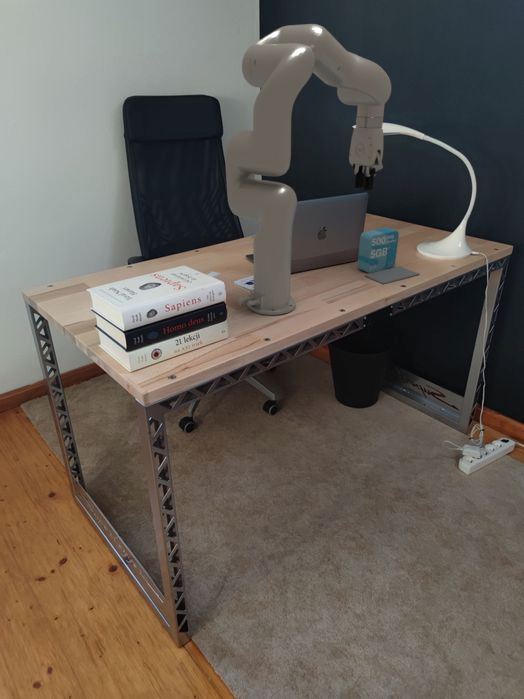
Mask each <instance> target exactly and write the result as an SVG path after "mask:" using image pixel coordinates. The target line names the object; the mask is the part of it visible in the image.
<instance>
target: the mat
mask: <svg viewBox="0 0 524 699" xmlns="http://www.w3.org/2000/svg"><path fill="white" fill-rule="evenodd" d="M416 276H420V273H419V272H416V271H414V270H410V269H408V268H405V267H402V266H395V267H392V268H389V269H384V270H380V271H376V272H372V273H368V274H365V275H364V277H365V278H367V279H370V280H372V281H374V282H377V283H379V284H381V285H383V286H384V285H387V284H392V283H393V282H397V281H403V280H406V279H408V278H409V279H410V278H413V277H416Z"/></svg>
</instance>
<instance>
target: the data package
mask: <svg viewBox="0 0 524 699" xmlns="http://www.w3.org/2000/svg"><path fill="white" fill-rule="evenodd" d="M399 235H400V233H399V231H398V230H395V229H392V228H390V227H383V228H382V227H381V228H377V229H376V228H375V229H372V230H366V231H363V232H362V233H361V234H360V236H359V246H358V257H357V268H358V270H361V271H363V272H366V273H368V274H372V273H376V272H380V271H384V270H388V269H392V268H394V266H395V265H396V259H397V252H398V243H399Z"/></svg>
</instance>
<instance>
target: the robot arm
mask: <svg viewBox="0 0 524 699" xmlns="http://www.w3.org/2000/svg"><path fill="white" fill-rule="evenodd" d="M241 70H242V71H241V72H242V76H243V78H244V79H245V81H246V82H247V84H249V85H250V86H252V87H254V88H260V91H259V92H258V94H257V96H256V98H255V100H254V104H253V110H252V130H249V129H246V130H245V129H244V130H239V131H235V132H234V133H233V134H232V135H231V137H229V140H228V141H227V145H226V148H225V156H224V157H225V159H224V160H225V177H226V178H225V179H226V195H227V197H226V198H227V202H228V207H229V209H230V211H231V212H232V214H234V215H235V216H237V217H239V218H243V219H248V220H253V221H257V222H260V225H259V228H258V229H257V230H256V232H255V234H254V237H253V242H252V244H253V245H252V246H253V247H252V248H253V289H250V291H249V293H248V294H247V296H241V297H237V300H236V301H237V304H238V305H239V306H243V305H247V307H248V308H249V309H250V311H253V312H255V313H257V314H260V315H264V316H265V315H268V316H276V315H278V316H279V315H284V314H288V313H290V312H292V311H293V310H294V309H296V304H297V302H296V299H295V298H294V297H292V296H291V278H292V277H291V274H292V273H291V272H292V270H291V269H292V240H293V239H292V238H293V237H292V236H293V226H294V221H295V216H296V211H297V204H298V198H297V194H296V192H295V190H294V188H292V187H291V186H289V185H287V184H285V183H282V182H278V181H271V180H266V179H264V180H263V179H258V178H257V179H256V176H255V175H258V176H266V177H280V176H284V175H285V174H286V173H287V172H288V170H289V169H290V165H291V157H292V156H291V155H292V150H291V149H292V112H293V107H294V103H295V101H296V99H297V97H298V95H299V93H300V92H301V90H302V89H303V87H304V86H305V85H306V84H307V83H308V81H309V79H310V78H311V76H312V74H314V76H316V77H317V78H318V79H320V81H322V82H323V83H324V84H326V85H327V86H331V87H334V88H336V89H337V92H336V93H337V94H336V95H337V98H338V99H339V101H340V102H341V103H343V104H344V105H348V106H357V111H356V119H355V122H356V123H355V127H353V132H352V135H351V139H350V140H351V141H350V147H349V154H348V155H349V156H348V159H349V160H348V161H349V165H351V167H352V168H353V172H354V175H355V178H354V188H355V189H359V188H363V190H364V191H370V190H373V189H374V188H373V187H374V177H375V176H376V175H377V173H378V172H379V171H381V170H382V169H383V168H384V166H383V162H382V161H383V156H384V130H383V124H384V115H385V114H384V111H385V105H386V103H387V102H388V100H389V99H390V97H391V94H392V83H391V82H392V81H391V79H390V77H389V76H388V74H387V72H386V71H385V70H384V68H382V67H381V66H380V65H379V64H377V63H376V62H374V61H372V60H370V59H367V58H364V57H362V56H359V54H356V53H353V52H350V51H348V50H347V49H346V48H345V47H344V46H343V45H342V44H341V43H340V42H339V41H338V40H337V39H336V38H335V36H333V35H332V33H331V32H329V31H328V30H327V28H325V26H322V25H319V24H316V23H308V24H306V23H305V24H293V25H291V24H290V25H285V26H281V27H278V28H277V29H275V30H273V31H272V32H270V33H269V34H267V35H265V36H264V37H262V38H261V39H259V40H257V41H256V42H255V43H253V44H252V45H250V46H249V47H248V48H247V49H246V51H245V52H244V55H243V57H242V61H241ZM365 167H366V169H365ZM364 170H365V171H364ZM364 172H365V173H366V176H365V173H364Z"/></svg>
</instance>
